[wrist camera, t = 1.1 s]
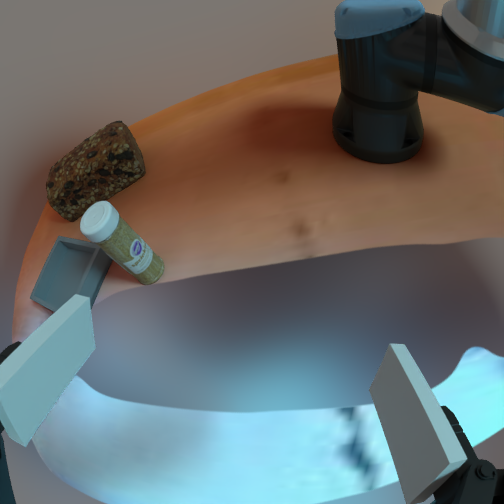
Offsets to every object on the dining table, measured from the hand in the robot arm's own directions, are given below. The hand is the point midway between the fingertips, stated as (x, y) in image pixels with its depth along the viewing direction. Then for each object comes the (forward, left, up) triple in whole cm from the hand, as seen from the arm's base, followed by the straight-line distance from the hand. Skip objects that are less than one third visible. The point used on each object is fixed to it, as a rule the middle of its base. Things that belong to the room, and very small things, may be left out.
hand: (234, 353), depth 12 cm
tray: (-5, -36, -21) cm, 42 cm away
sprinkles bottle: (-10, -22, -21) cm, 32 cm away
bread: (-25, -42, -22) cm, 53 cm away
